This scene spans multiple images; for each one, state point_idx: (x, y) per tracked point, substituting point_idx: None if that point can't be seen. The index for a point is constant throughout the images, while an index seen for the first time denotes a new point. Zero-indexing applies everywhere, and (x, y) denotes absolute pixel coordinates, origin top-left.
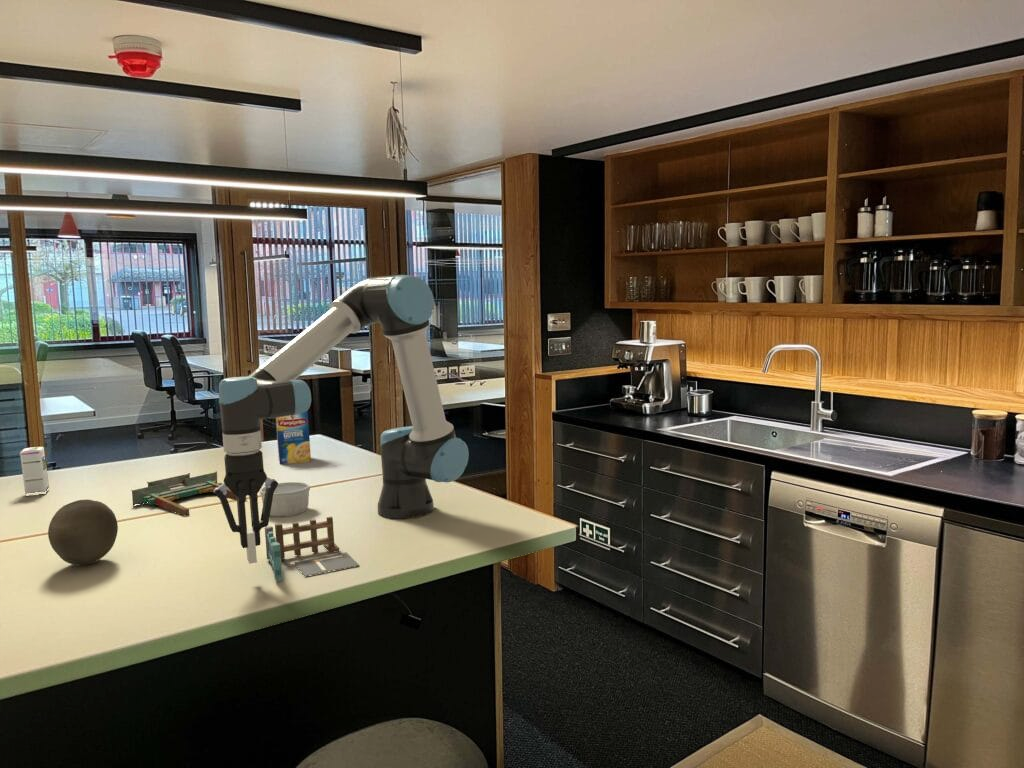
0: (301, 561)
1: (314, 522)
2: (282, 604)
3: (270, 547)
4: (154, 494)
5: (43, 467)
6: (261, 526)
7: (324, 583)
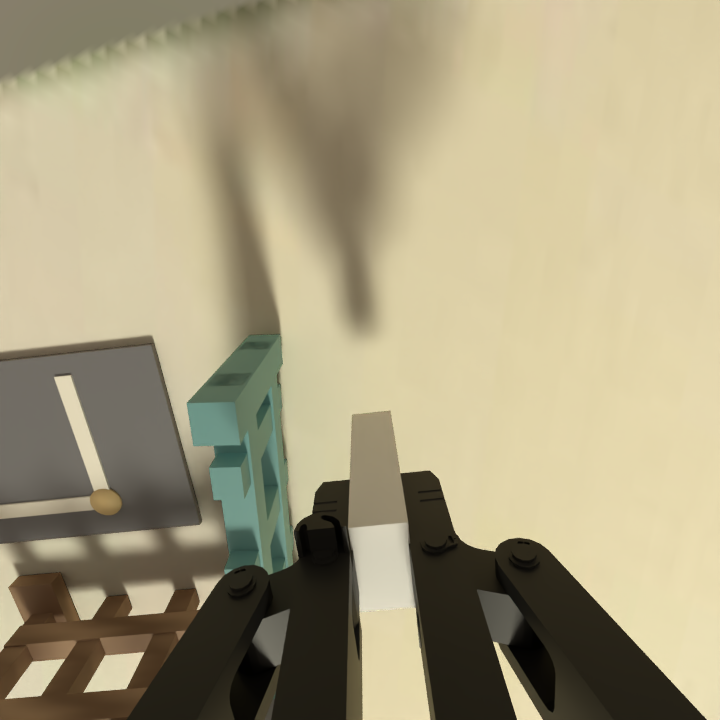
0: (168, 519)
1: None
2: (259, 14)
3: None
4: None
5: None
6: (282, 581)
7: (58, 222)
